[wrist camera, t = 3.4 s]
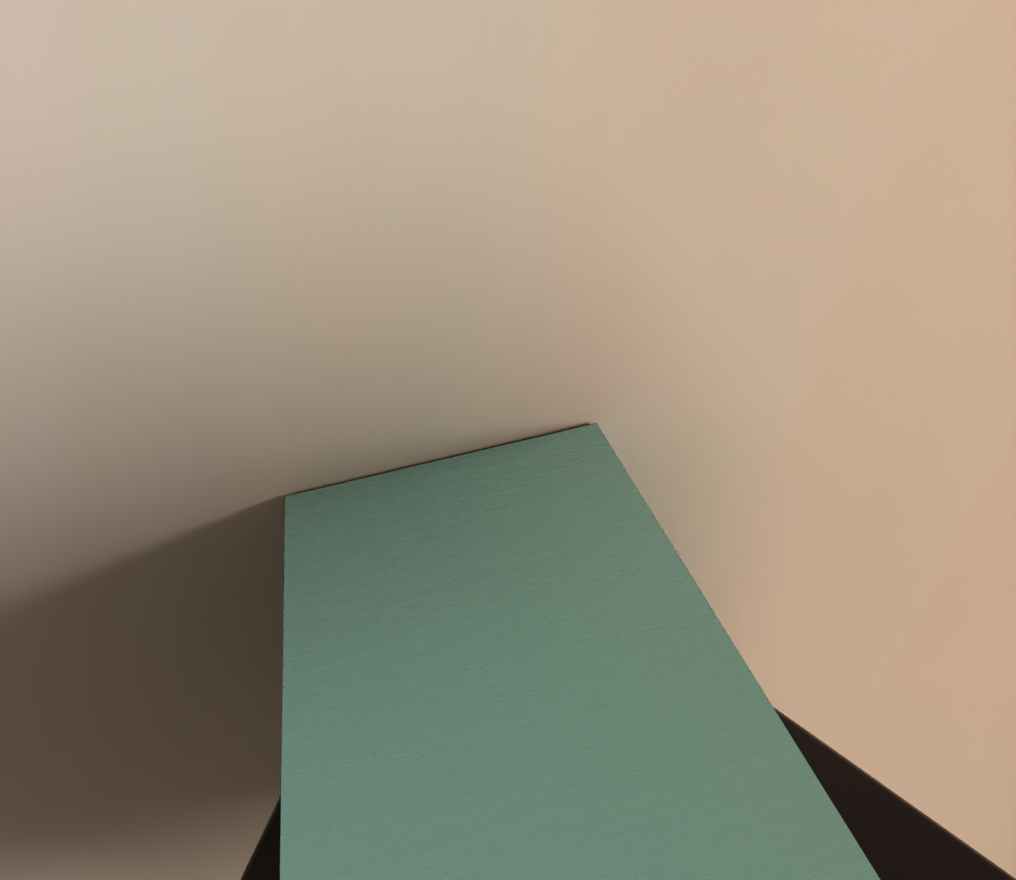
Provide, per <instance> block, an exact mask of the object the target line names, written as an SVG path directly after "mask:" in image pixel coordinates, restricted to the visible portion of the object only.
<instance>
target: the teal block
mask: <svg viewBox="0 0 1016 880" xmlns="http://www.w3.org/2000/svg"><path fill="white" fill-rule="evenodd" d="M280 880H880V878H879V877H878V875H877V874H876V872H875V870H874V869H873V867H872V866H871V864H870V862H869V861H868V859H867V858H866V856H865V854H864V853H863V851H862V849H861V848H860V846H859V845H858V843H857V841H856V840H855V838H854V837H853V835H852V833H851V832H850V830H849V829H848V827H847V825H846V824H845V822H844V821H843V819H842V817H841V816H840V814H839V812H838V811H837V809H836V808H835V806H834V804H833V803H832V801H831V800H830V798H829V796H828V795H827V793H826V792H825V790H824V788H823V787H822V785H821V784H820V782H819V780H818V779H817V777H816V775H815V774H814V772H813V771H812V769H811V767H810V766H809V764H808V763H807V761H806V759H805V758H804V756H803V755H802V753H801V751H800V750H799V748H798V747H797V745H796V743H795V742H794V740H793V738H792V737H791V735H790V734H789V732H788V730H787V729H786V727H785V726H784V724H783V722H782V721H781V719H780V718H779V716H778V714H777V713H776V711H775V710H774V708H773V706H772V705H771V703H770V701H769V700H768V698H767V697H766V695H765V693H764V692H763V690H762V689H761V687H760V685H759V684H758V682H757V681H756V679H755V677H754V676H753V674H752V673H751V671H750V669H749V668H748V666H747V664H746V663H745V661H744V660H743V658H742V656H741V655H740V653H739V652H738V650H737V648H736V647H735V645H734V644H733V642H732V640H731V639H730V637H729V636H728V634H727V632H726V631H725V629H724V627H723V626H722V624H721V623H720V621H719V619H718V618H717V616H716V615H715V613H714V611H713V610H712V608H711V607H710V605H709V603H708V602H707V600H706V599H705V597H704V595H703V594H702V592H701V590H700V589H699V587H698V586H697V584H696V582H695V581H694V579H693V578H692V576H691V574H690V573H689V571H688V570H687V568H686V566H685V565H684V563H683V562H682V560H681V558H680V557H679V555H678V553H677V552H676V550H675V549H674V547H673V545H672V544H671V542H670V541H669V539H668V537H667V536H666V534H665V533H664V531H663V529H662V528H661V526H660V525H659V523H658V521H657V520H656V518H655V517H654V515H653V513H652V512H651V510H650V508H649V507H648V505H647V504H646V502H645V500H644V499H643V497H642V496H641V494H640V492H639V491H638V489H637V488H636V486H635V484H634V483H633V481H632V480H631V478H630V476H629V475H628V473H627V471H626V470H625V468H624V467H623V465H622V463H621V462H620V460H619V459H618V457H617V455H616V454H615V452H614V451H613V449H612V447H611V446H610V444H609V443H608V441H607V439H606V438H605V436H604V434H603V433H602V431H601V430H600V428H599V426H598V425H597V423H595V424H591V425H587V426H583V427H579V428H574V429H570V430H566V431H562V432H557V433H553V434H549V435H545V436H540V437H536V438H532V439H528V440H523V441H519V442H515V443H511V444H506V445H502V446H498V447H494V448H489V449H485V450H481V451H477V452H472V453H468V454H464V455H460V456H455V457H451V458H447V459H443V460H438V461H434V462H430V463H426V464H421V465H417V466H413V467H409V468H404V469H400V470H396V471H392V472H387V473H383V474H379V475H375V476H370V477H366V478H362V479H358V480H353V481H349V482H345V483H341V484H336V485H332V486H328V487H324V488H320V489H315V490H311V491H307V492H303V493H298V494H294V495H290V496H286V497H285V550H284V621H283V692H282V764H281V835H280Z"/></svg>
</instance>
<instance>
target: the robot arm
mask: <svg viewBox="0 0 1016 880" xmlns="http://www.w3.org/2000/svg"><path fill="white" fill-rule="evenodd" d="M773 708H774V707H773ZM774 710H775V711H776V713H777V714H778V716H779V718H780V719H781V721H782V722H783V724H784V726H785V727H786V729H787V730H788V732H789V734H790V735H791V737H792V738H793V740H794V742H795V743H796V745H797V747H798V748H799V750H800V751H801V753H802V755H803V756H804V758H805V759H806V761H807V763H808V764H809V766H810V767H811V769H812V771H813V772H814V774H815V775H816V777H817V779H818V780H819V782H820V784H821V785H822V787H823V788H824V790H825V792H826V793H827V795H828V796H829V798H830V800H831V801H832V803H833V804H834V806H835V808H836V809H837V811H838V812H839V814H840V816H841V817H842V819H843V821H844V822H845V824H846V825H847V827H848V829H849V830H850V832H851V833H852V835H853V837H854V838H855V840H856V841H857V843H858V845H859V846H860V848H861V849H862V851H863V853H864V854H865V856H866V858H867V859H868V861H869V862H870V864H871V866H872V867H873V869H874V870H875V872H876V874H877V875H878V877H879V878H880V880H1016V879H1015V878H1014V877H1012V876H1011V875H1010V874H1008V873H1007V872H1005V871H1004V870H1003V869H1001V868H1000V867H998V866H997V865H996V864H994V863H993V862H991V861H990V860H989V859H987V858H986V857H984V856H983V855H981V854H980V853H979V852H977V851H976V850H974V849H973V848H972V847H970V846H969V845H967V844H966V843H965V842H963V841H962V840H960V839H959V838H957V837H956V836H955V835H953V834H952V833H950V832H949V831H948V830H946V829H945V828H943V827H942V826H941V825H939V824H938V823H936V822H935V821H934V820H932V819H931V818H929V817H928V816H926V815H925V814H924V813H922V812H921V811H919V810H918V809H917V808H915V807H914V806H912V805H911V804H910V803H908V802H907V801H905V800H904V799H903V798H901V797H900V796H898V795H897V794H895V793H894V792H893V791H891V790H890V789H888V788H887V787H886V786H884V785H883V784H881V783H880V782H879V781H877V780H876V779H874V778H873V777H871V776H870V775H869V774H867V773H866V772H864V771H863V770H862V769H860V768H859V767H857V766H856V765H855V764H853V763H852V762H850V761H849V760H848V759H846V758H845V757H843V756H842V755H840V754H839V753H838V752H836V751H835V750H833V749H832V748H831V747H829V746H828V745H826V744H825V743H824V742H822V741H821V740H819V739H818V738H817V737H815V736H814V735H812V734H811V733H809V732H808V731H807V730H805V729H804V728H802V727H801V726H800V725H798V724H797V723H795V722H794V721H793V720H791V719H790V718H788V717H787V716H785V715H784V714H783V713H781V712H780V711H778V710H777V709H776V708H774ZM280 835H281V796H280V798H279V800H278V802H277V804H276V806H275V808H274V811H273V813H272V815H271V817H270V819H269V821H268V823H267V825H266V827H265V830H264V832H263V834H262V836H261V838H260V840H259V842H258V844H257V846H256V848H255V851H254V853H253V855H252V857H251V859H250V861H249V863H248V865H247V867H246V869H245V872H244V874H243V876H242V878H241V880H280Z"/></svg>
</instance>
